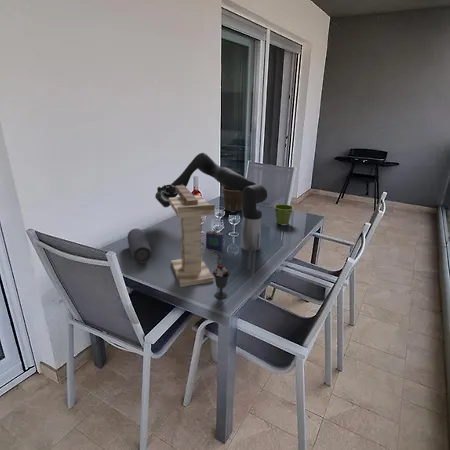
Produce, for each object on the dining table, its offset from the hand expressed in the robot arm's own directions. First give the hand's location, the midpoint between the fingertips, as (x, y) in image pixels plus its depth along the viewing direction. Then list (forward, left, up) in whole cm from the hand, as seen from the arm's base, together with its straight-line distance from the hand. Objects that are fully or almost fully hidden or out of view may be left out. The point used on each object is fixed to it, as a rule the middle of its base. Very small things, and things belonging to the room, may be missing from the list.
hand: (174, 186), depth 155 cm
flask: (-21, +1, -31) cm, 38 cm away
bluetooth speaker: (+13, +16, -31) cm, 38 cm away
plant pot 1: (-21, -63, -31) cm, 73 cm away
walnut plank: (-12, +20, +1) cm, 23 cm away
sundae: (-32, +41, -31) cm, 61 cm away
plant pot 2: (-55, -44, -31) cm, 77 cm away
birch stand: (-16, +27, -31) cm, 44 cm away
